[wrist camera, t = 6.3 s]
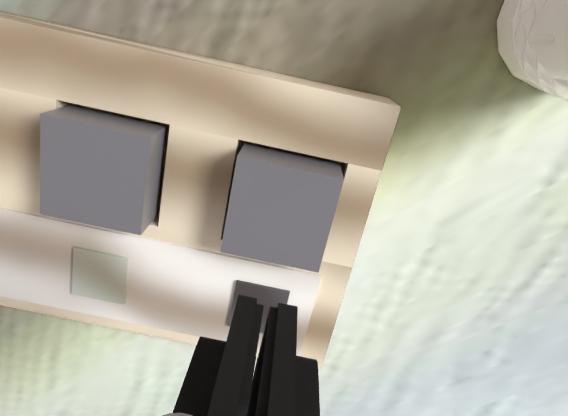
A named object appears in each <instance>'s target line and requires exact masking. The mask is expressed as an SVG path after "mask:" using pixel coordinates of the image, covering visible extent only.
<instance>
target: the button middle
mask: <svg viewBox="0 0 568 416" xmlns="http://www.w3.org/2000/svg"><path fill="white" fill-rule="evenodd" d="M166 134H167V126H163V125H158V124H153V123H149V122H144V121H140V120H135V119H131V118H126V117H121V116H117V115H112V114H108V113H103V112H98V111H94V110H89V109H85V108H80V107H76V106H71V105H68V106H65V107H61V108H58V109H54V110H51V111H47V112H43V113H40V214H41V215H46V216H51V217H55V218H60V219H65V220H70V221H74V222H79V223H84V224H89V225H94V226H98V227H103V228H108V229H113V230H117V231H122V232H127V233H132V234H136V235H141V234H142V233H143V232H144V231H145V230H146V228H147V227H148V226H149V225H150V224H151V222H152V221H153V220H154V219H155V218H156V216H157V213H158V205H159V196H160V187H161V178H162V169H163V160H164V151H165V142H166Z"/></svg>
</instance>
